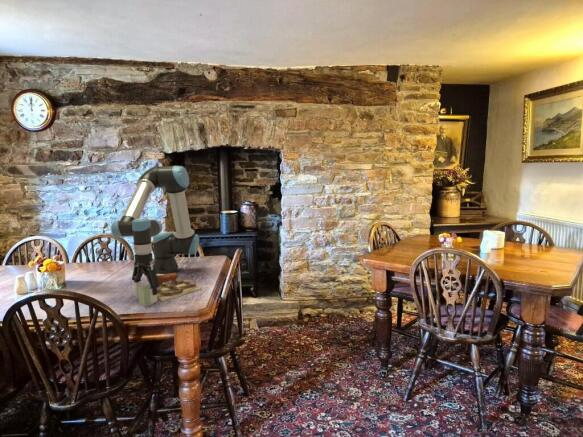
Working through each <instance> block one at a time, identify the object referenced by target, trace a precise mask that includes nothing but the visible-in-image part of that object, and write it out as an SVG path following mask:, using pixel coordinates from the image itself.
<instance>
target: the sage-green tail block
mask: <svg viewBox="0 0 583 437" xmlns="http://www.w3.org/2000/svg"><path fill="white" fill-rule="evenodd" d="M150 287H151V286H150V284H145V285H141V287H138V295H139V296H138V304H139V305H141V306H143V307H148V306H152V305H154V304H156V302H153V303H151V295H150Z"/></svg>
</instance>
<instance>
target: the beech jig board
mask: <svg viewBox="0 0 583 437" xmlns="http://www.w3.org/2000/svg"><path fill="white" fill-rule="evenodd" d="M176 281H177V286H176V287H175V288H174V286H175V284H174V283H173V285H172V286H171V287H169V286H170V285H171V282H169V284H167V283H163V284H162V286H163V288H161V289H160V290H158V289H159V287H157V301H160V302H166V301H170V300H172V299H175V298H178V297H182V296H186V295H188V294H192V293H195V292H199V291H202V289H203V288H202V287H200V286H197V282H193V281H190V280H187V279H181V280H176Z"/></svg>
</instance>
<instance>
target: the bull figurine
mask: <svg viewBox="0 0 583 437" xmlns="http://www.w3.org/2000/svg"><path fill="white" fill-rule="evenodd" d="M156 275H157V278H158V282H159V285H160V286H159V289H158V290H160V289H161V288H163V286H162V284H163V283H167V284H169V283H171V285H170V286H169V287H171V286H172V285H173V283H174V284H175V286H174V288H175V287H176V286H177V281H178V280H177V279H178V278H179V274H178V273H177V272H175V273H170V274H156Z"/></svg>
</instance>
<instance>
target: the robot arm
mask: <svg viewBox="0 0 583 437" xmlns="http://www.w3.org/2000/svg"><path fill="white" fill-rule="evenodd" d="M189 185H190V177H189V173H188V171H187V169H186V168H185V167H184V166H183V165H168V166H167V165H164V166H159V165H157V166H153V167H151V168H149V169H147V170H146V171H145V172H143V173H142V174H141V175H140V176H139V178H138V180H137V182H136V188H135V190H134V192H133V194H132V196H131V198H130V200H129V202H128V204H127V206H126V208H125V210H124V212H123V214H122V216H121V217H120V220H114V221H113V222H112V223H111V226H110V231H111V234H112V235H113V237H117V238H125V237H126V238H127V237H133V238H132V239H133V253H134V262H133V271H132V276H131V280H132V281H133V282H134V289H135V297H136V298H137V297H139V295H138V287H141V286H142V277H143V275H144V276H145V277H146V279H147V281H148V283H149V284H148V285H150V286H151V287H150V295H151V303H153V302H155V303H156V302H158V300H157V287H159V286H160V285H159V282H158V278H157V275H156V274H170V273H177V272H179V269H180V268H179V265H178V262H177V260H176V257H175V255H195V254H196V253H197V252H198V250H199V245H200V236H199V235H198V234H195V233H196V232H195V230H194V229H192V228H191V227H192V226H191V221H190V215H189V209H188V204H187V197H186V193H185V192H186V191H187V189H188V187H189ZM159 188H161V189H164V192H165V193H166V194H167V195H168V198H169V203H170V207H171V208H170V209H171V212H172V218H173V223H174V226H175V227H174V228H175V232H173V231H167V232H162V231H163V225H162V224H163V223H162V222H161V221H160V220H158V219H149V218H141V215H142V214H143V212H144V208H145V206H147V205H146V204H147V202H148V200H149V198H150V196H151V194H153V193H154V191H155V189H159ZM161 232H162V233H161ZM152 245H153V246H152ZM153 258H154V259H153ZM152 261H153V263H152V264H151V262H152Z"/></svg>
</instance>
